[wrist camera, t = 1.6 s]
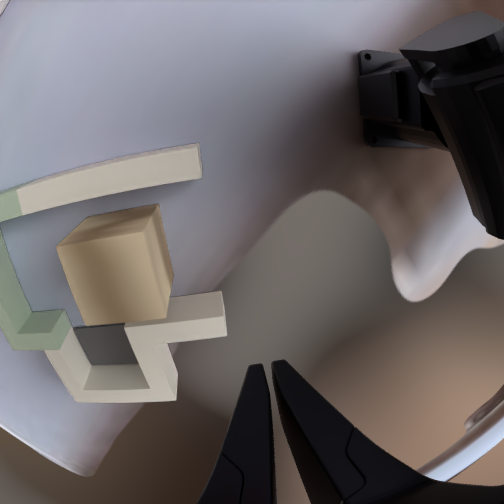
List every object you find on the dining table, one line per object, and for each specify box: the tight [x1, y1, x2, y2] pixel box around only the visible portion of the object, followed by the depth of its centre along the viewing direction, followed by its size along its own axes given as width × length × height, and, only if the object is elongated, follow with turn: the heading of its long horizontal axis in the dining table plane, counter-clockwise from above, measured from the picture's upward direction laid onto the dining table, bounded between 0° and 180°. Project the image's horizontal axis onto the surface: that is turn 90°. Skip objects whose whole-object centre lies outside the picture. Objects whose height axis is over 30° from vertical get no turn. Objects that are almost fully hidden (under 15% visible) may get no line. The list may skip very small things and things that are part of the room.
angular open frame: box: [0, 143, 227, 403], centre depth 19 cm, size 18×18×3 cm
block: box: [56, 204, 174, 326], centre depth 17 cm, size 5×5×5 cm
